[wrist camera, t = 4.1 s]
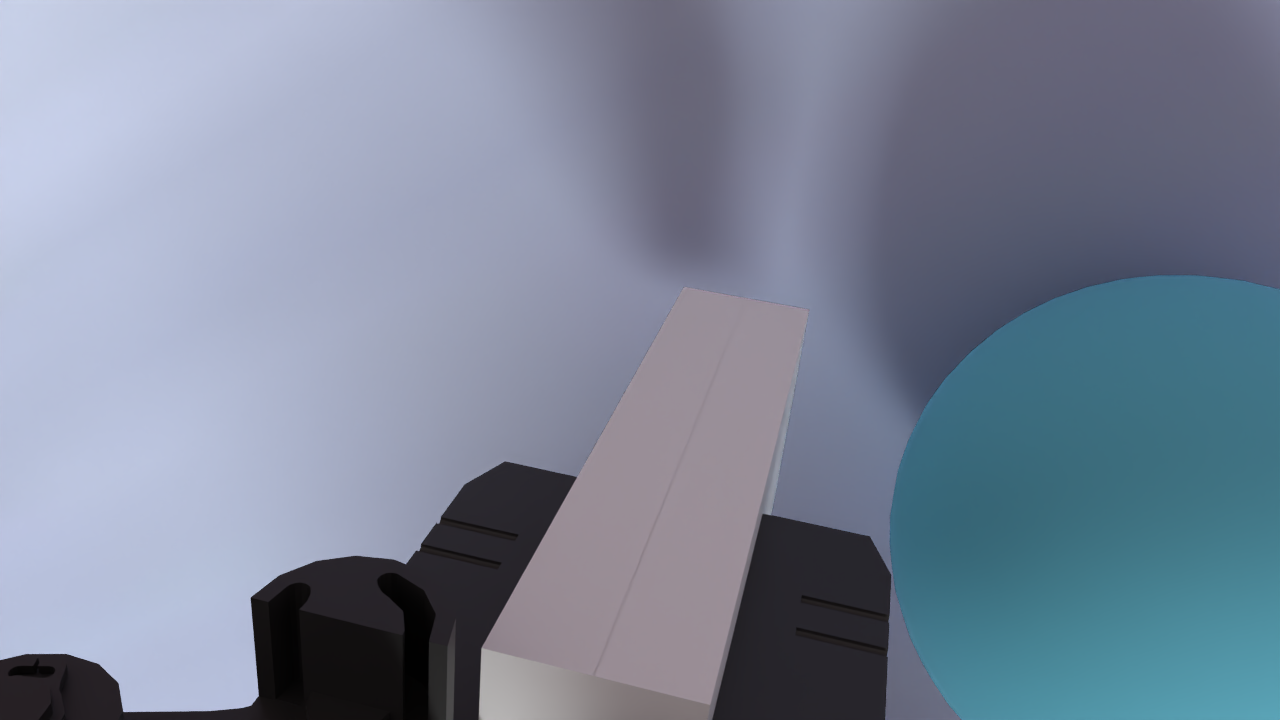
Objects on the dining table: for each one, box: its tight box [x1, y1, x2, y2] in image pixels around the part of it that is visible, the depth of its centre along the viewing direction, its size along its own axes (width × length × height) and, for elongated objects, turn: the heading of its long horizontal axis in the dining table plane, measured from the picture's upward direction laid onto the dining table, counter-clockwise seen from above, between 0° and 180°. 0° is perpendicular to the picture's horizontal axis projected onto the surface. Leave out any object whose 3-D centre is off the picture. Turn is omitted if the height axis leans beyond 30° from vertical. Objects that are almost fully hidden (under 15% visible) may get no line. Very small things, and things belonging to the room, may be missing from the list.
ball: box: [890, 275, 1280, 720], centre depth 12 cm, size 6×6×6 cm
